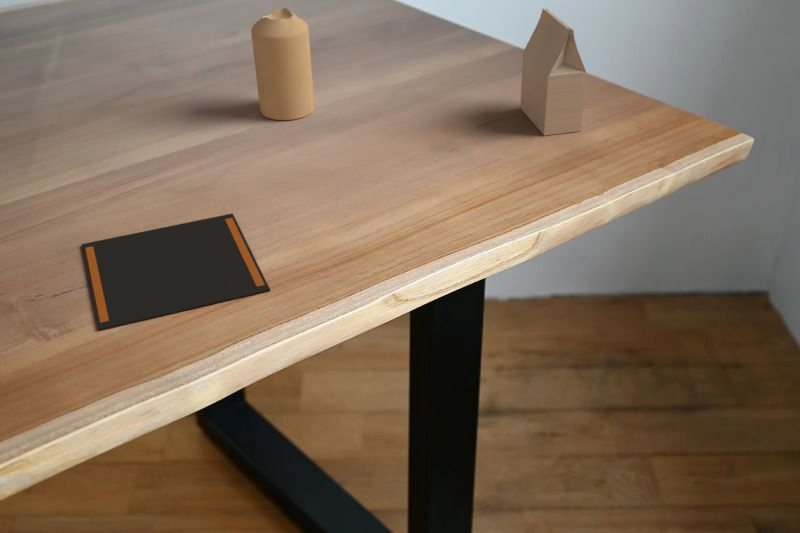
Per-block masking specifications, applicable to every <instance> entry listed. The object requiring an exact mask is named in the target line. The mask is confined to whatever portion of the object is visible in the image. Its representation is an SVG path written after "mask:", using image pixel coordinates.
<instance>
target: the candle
mask: <svg viewBox="0 0 800 533" xmlns="http://www.w3.org/2000/svg"><path fill="white" fill-rule="evenodd" d="M250 33H251V42H252V50H253V51H252V52H253V58H254V68H255V69H254V70H255V78H256V86H257V94H258V104H259V110H260V113H261V115H262V116H263V117H264V118H267V119H271V120H276V121H291V120H292V121H293V120H298V119H302V118H304V117H307V116H309V115H310V114H311V113H313V111H315V110H314V109H315V97H314V83H313V72H312V71H313V70H312V58H311V56H312V55H311V45H310V31H309V25H308V23H306V22H305V20H303V19H302V18H300V16H297V15H296V14H295V13H293V12H292V11H291V10H290V9H288V8H286V7H283V8H278V9H275V10H273V11H272V12H271V13H269V14H267V15H263V16H262V17H260V18H259V20H257V21H256V22H255V23H254V24H253V26H252V27H251V29H250Z"/></svg>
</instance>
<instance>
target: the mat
mask: <svg viewBox="0 0 800 533" xmlns="http://www.w3.org/2000/svg"><path fill="white" fill-rule="evenodd" d="M81 247H82V253H83V258H84V263H85V268H86V273H87V278H88V283H89V284H88V285H89V289H90V293H91V294H90V295H91V300H92V305H93V310H94V314H95V320H96V325H97V329H98V330H97V331H98V332H100V331H103V330H108V329H112V328H116V327H122V326H125V325H129V324H135V323H138V321H139V322H143V321H147V320H151V318H152V319H156V318H160V317H164V316H169V315H172V314H176V313H181V312H186V311H190V310H194V309H199V308H202V307H203V308H204V307H207V306H211V305H215V304H220V303H225V302H229V301H232V300H238V299H242V298H247V297H250V296H255V295H259V294H262V293H263V294H264V293H267V292H270V291H271V289H270V287H269V283H268V282H267V280H266V277H264V273H263V272H262V270H261V267H260V266H259V263H258V262H257V261H256V258H255V256H254V254H253V252H252V250H251V248H250V245H249V244H248V242H247V240H246V238H245V236H244V233H243V231H242V230H241V228H240V224H239V223H238V222H237V219H236V217H235V216H234V213H228V214H223V215H218V216H212V217H209V218H203V219H198V220H193V221H189V222H184V223H183V222H182V223H179V224H173V225H169V226H164V227H159V228H154V229H148V230H144V231H139V232H135V233H130V234H125V235H119V236H115V237H110V238H105V239H100V240H95V241H90V242H85V243H81ZM159 316H160V317H159ZM146 319H147V320H146ZM142 320H143V321H142Z"/></svg>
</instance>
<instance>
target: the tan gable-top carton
mask: <svg viewBox="0 0 800 533" xmlns="http://www.w3.org/2000/svg"><path fill="white" fill-rule="evenodd" d="M545 8H546V7H545ZM545 8H542V10H541V13H540V16H539V19H538V21H537V24H536V26H535V28H534V30H533V32H532V33H531V36H530V38H529V40H528V41H527V43H526V46H525V47H524V50H523V52H522V70H521V73H522V74H521V88H520V108H519V109H520V110H521V111H522V112H523V114H525V116H527V118H528V119H529V120H530V121H531V122H532V124H533V125H534V126H535V127H536V129H538V131H539V132H540V134H542V135H543V136H552V135H558V134H559V135H561V134H562V135H563V134H569V133H577V132H581V131H582V120H583V108H584V98H585V88H586V77H587V71H586V67H585V65H584V64H583V60H582V58H581V55H580V53H579V50H578V47H577V42H576V39H575V31H574V29H573V28H572V27H570V26H569V25H568V24H566V23H565V22H564V21H563V20H561V18H559V17H558V16H557V15H556V14H554V12H552V11H550V10H549V9H548V8H546V9H545Z"/></svg>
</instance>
